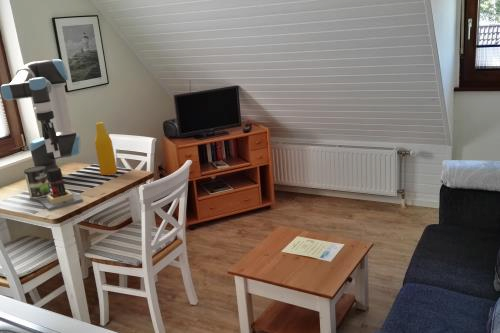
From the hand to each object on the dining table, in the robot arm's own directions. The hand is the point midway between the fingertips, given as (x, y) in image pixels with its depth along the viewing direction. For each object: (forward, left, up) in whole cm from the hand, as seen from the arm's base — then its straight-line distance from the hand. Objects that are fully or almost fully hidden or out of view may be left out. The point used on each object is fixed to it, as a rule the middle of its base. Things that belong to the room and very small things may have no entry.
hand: (53, 154), depth 248 cm
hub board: (+3, -2, -23) cm, 23 cm away
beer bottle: (-24, +32, -23) cm, 46 cm away
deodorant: (+3, -2, -22) cm, 22 cm away
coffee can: (-17, -7, -23) cm, 30 cm away
